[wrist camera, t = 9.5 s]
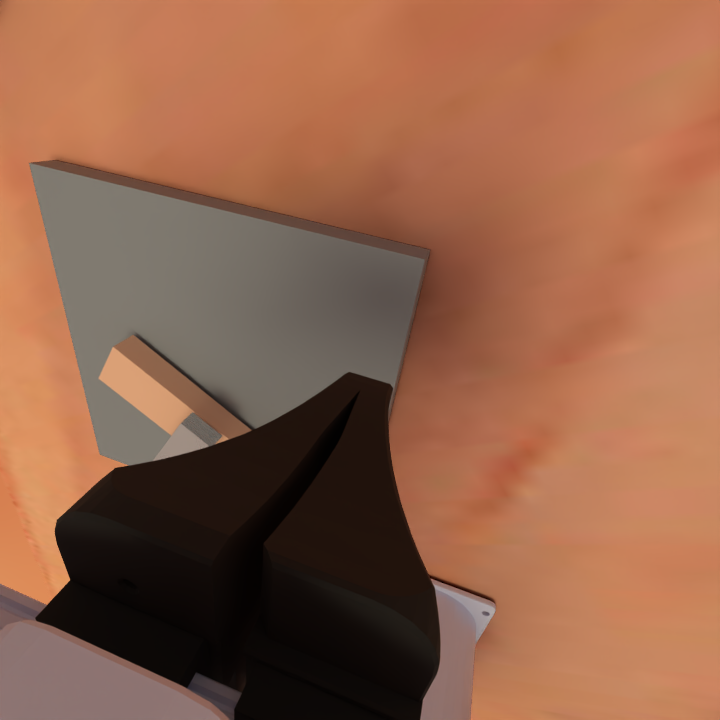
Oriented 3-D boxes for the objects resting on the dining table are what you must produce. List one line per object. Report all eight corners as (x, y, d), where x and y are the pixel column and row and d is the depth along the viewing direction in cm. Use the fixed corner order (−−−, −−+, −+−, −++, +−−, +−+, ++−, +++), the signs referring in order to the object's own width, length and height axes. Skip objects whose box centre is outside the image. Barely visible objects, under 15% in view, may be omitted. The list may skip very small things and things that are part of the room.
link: (341, 498, 26) (314, 559, 22) (309, 521, 28) (280, 581, 24) (134, 331, 24) (69, 369, 21) (116, 368, 26) (54, 409, 23)
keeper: (246, 408, 25) (211, 448, 22) (209, 450, 28) (174, 490, 25) (219, 386, 25) (180, 423, 22) (184, 431, 28) (146, 468, 25)
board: (362, 531, 30) (355, 549, 28) (115, 441, 33) (99, 454, 32) (430, 249, 19) (424, 259, 18) (55, 160, 22) (29, 162, 21)
